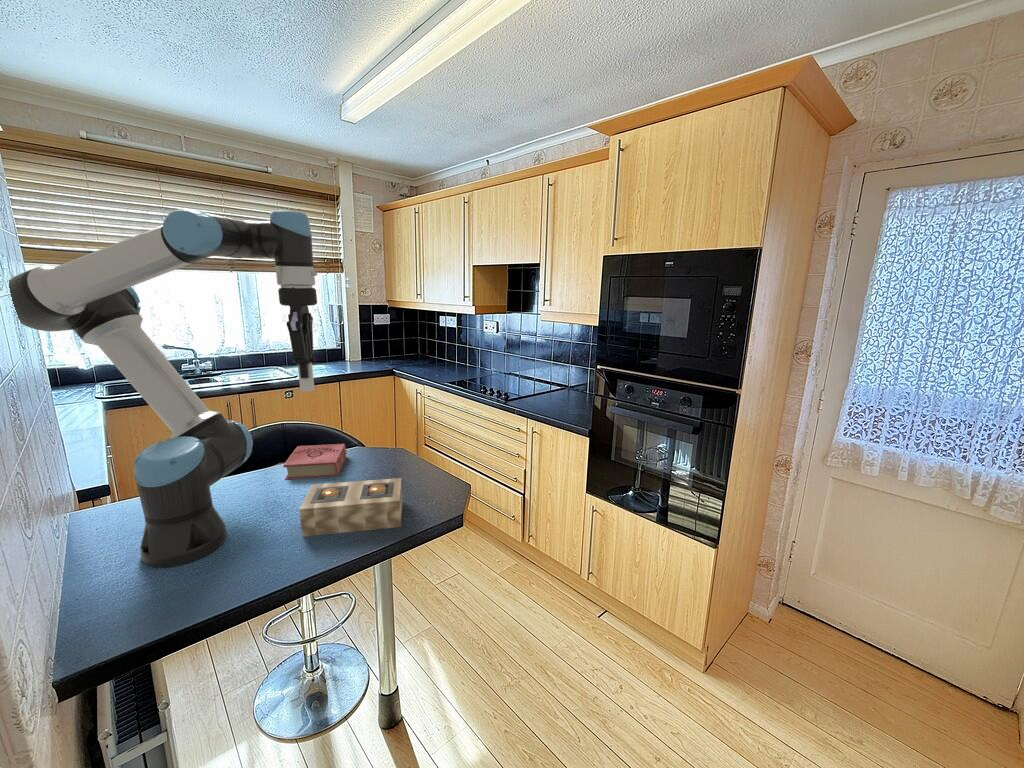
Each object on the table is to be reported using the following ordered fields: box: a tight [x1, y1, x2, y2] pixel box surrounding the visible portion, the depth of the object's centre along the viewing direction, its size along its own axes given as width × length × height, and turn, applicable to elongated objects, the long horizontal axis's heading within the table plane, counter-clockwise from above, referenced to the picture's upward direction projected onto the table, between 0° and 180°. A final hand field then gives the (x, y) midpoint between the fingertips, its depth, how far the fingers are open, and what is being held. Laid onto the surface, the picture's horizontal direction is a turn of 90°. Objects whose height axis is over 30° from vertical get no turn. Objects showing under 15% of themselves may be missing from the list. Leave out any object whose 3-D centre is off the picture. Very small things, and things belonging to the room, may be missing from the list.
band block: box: [299, 477, 403, 538], centre depth 106 cm, size 22×12×7 cm, turn 102°
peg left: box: [321, 488, 340, 500], centre depth 105 cm, size 4×4×7 cm
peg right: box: [369, 485, 386, 496], centre depth 107 cm, size 4×4×7 cm
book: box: [283, 443, 348, 480], centre depth 134 cm, size 14×15×5 cm
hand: (307, 390), depth 100 cm, fingers closed
